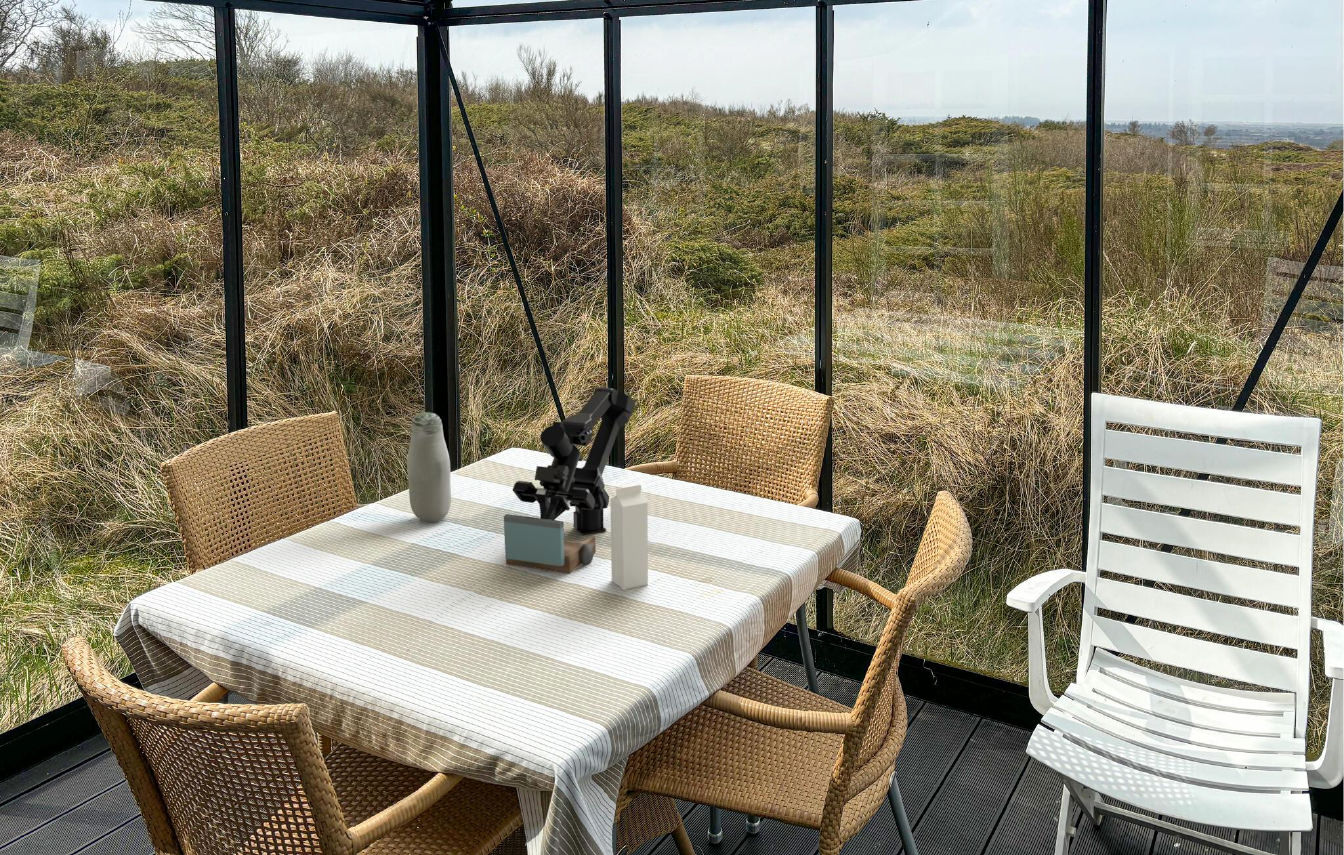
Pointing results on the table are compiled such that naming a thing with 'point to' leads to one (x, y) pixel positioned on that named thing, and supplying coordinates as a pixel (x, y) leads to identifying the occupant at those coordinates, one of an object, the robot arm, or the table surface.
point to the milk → (629, 538)
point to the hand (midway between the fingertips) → (542, 528)
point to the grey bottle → (428, 469)
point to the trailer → (565, 557)
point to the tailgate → (534, 539)
